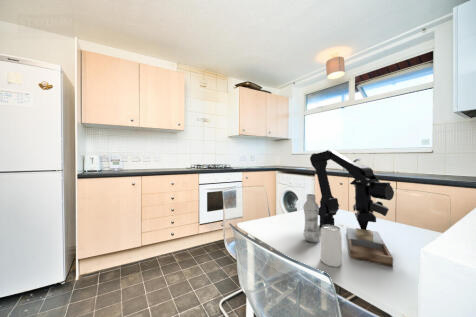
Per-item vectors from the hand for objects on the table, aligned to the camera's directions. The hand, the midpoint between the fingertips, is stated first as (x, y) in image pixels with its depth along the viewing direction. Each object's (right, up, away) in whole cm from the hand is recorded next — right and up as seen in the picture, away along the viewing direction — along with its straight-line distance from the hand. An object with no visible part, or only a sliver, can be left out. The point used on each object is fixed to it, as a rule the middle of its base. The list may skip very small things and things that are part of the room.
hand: (363, 232), depth 81 cm
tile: (-2, -1, -3) cm, 4 cm away
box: (-6, -4, -12) cm, 14 cm away
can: (-22, -4, -16) cm, 28 cm away
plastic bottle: (-22, -4, +1) cm, 23 cm away
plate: (0, -4, -1) cm, 4 cm away
